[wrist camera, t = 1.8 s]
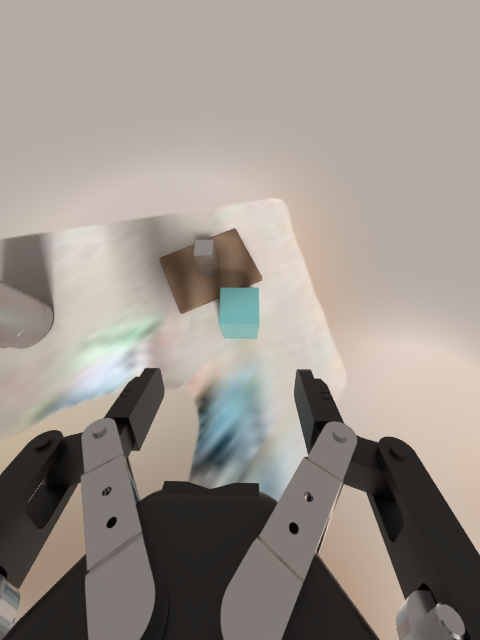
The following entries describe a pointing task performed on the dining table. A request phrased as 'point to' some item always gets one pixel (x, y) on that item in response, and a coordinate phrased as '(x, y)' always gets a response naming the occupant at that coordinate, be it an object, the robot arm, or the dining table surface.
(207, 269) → the post
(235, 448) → the dining table surface
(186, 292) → the board
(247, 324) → the teal foam cube
